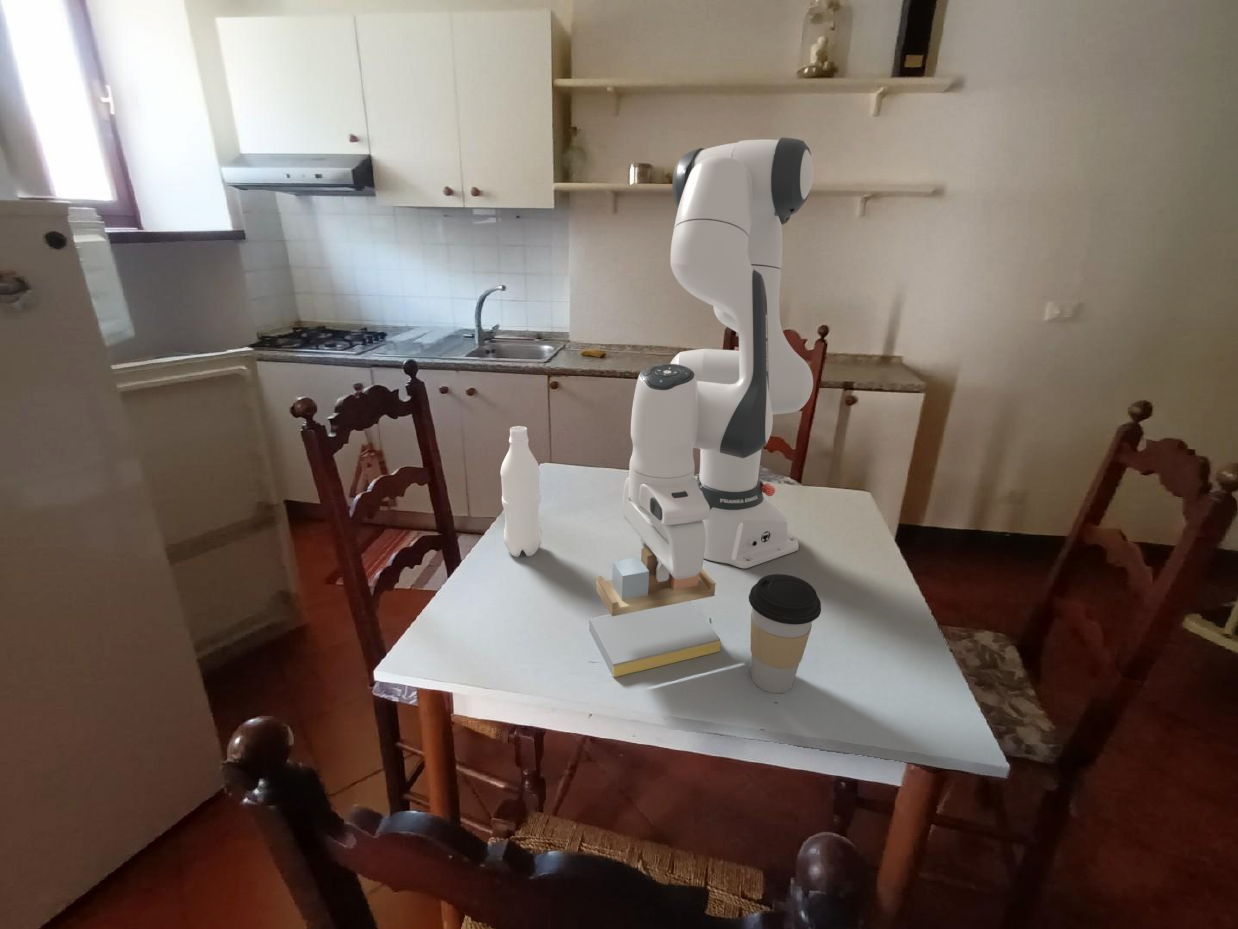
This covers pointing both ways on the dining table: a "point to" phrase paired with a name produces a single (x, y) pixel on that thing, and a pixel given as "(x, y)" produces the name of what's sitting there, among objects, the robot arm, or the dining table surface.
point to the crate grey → (630, 578)
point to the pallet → (653, 590)
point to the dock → (652, 637)
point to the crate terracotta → (684, 582)
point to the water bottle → (521, 495)
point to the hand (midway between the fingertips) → (655, 572)
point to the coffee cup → (780, 629)
